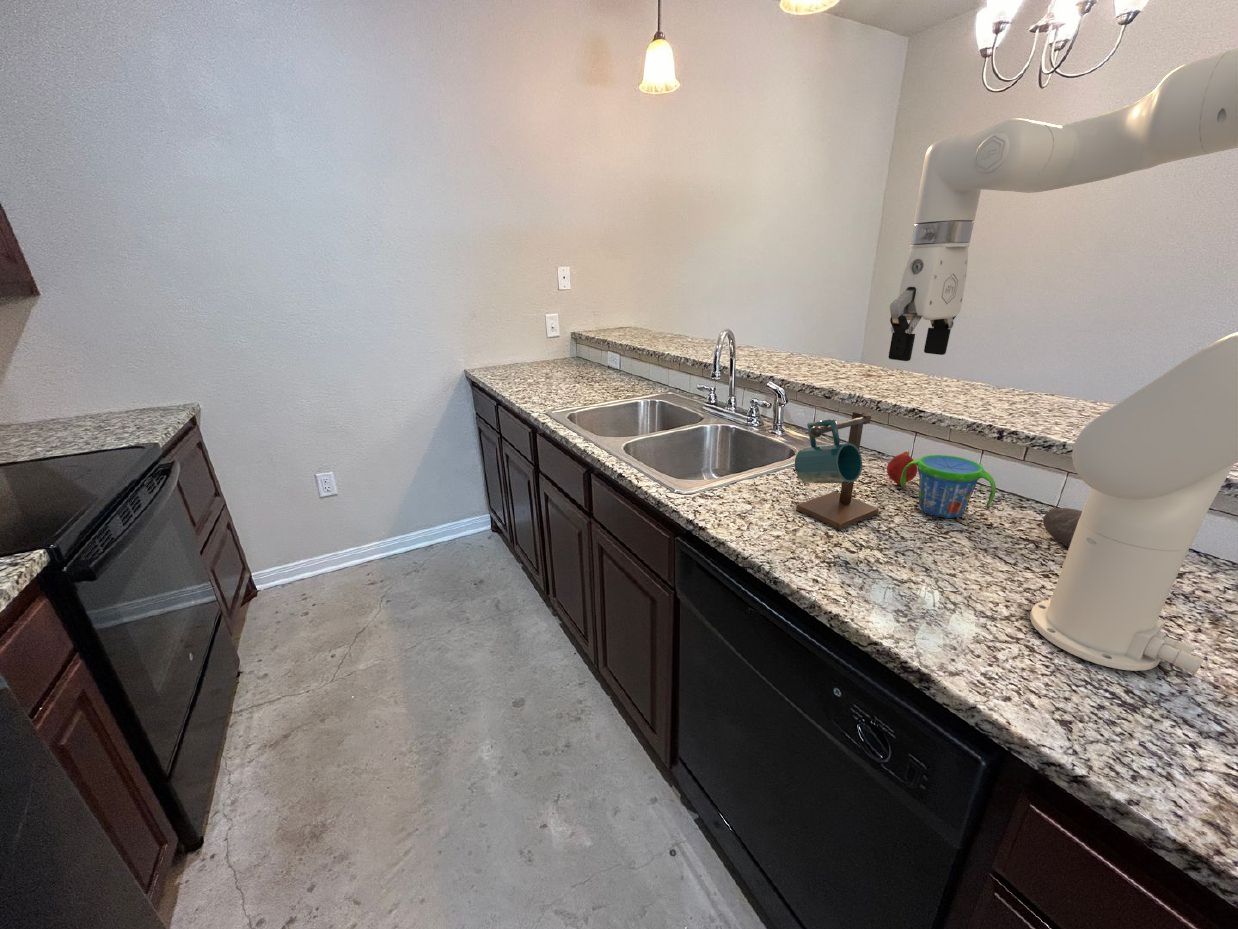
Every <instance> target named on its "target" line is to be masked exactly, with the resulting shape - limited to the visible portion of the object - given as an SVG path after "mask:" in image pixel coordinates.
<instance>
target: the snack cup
mask: <svg viewBox="0 0 1238 929" xmlns="http://www.w3.org/2000/svg"><path fill="white" fill-rule="evenodd" d="M913 460H914V461H912V462H910V463H909V464H908V465H907V466H906V467H905V468H904V470H903V472H902V475H901V480H900V483H901V485H900V486H901V487H902V488H903V487H905V486H906V484H907V482H906V470H907V469H908V468H909V467H910V466H911V465H913V464H916V465H917V472H918V477H919V478H918V479H919V481H918V505H919V508H920V509H921V510H922V511H923V512H924V513H926V514H929V515H930V516H935V517H939V518H945V519H952V518H954V519H955V518H958V517H962V516H963V514H964V513H965V512H966V509H967V506H968V504H969V502H970V500H971V497H972V495H973V493H974V491H975V488H976V486H977V482H978V481H979V480H980V479H984V480H985V481H987V482H989V485H990V492H989V496H988V501H987V502H986V504H985V507H986V508H988V507H989V506H990V505H991V504H992V503H993V500H994V498H995V496H996V490H997V486H996V481H995V480H994V478H993V476H992V475H991V474H990V473H988V472H987V471H985V469H984V467H983V466H982V465H981V464H980V463H978V462H976V461H974V460H971V459H968V458H965V457H961V456H954V455H949V454H948V455H947V454H946V455H945V454H930V455H925V456H922V457H920V458H917V459H913Z"/></svg>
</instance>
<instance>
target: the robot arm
mask: <svg viewBox="0 0 1238 929" xmlns="http://www.w3.org/2000/svg"><path fill="white" fill-rule="evenodd" d="M1233 149H1238V47H1237V48H1234V49H1231V50H1228V51H1224V52H1221V53H1218V54H1214V55H1212V56H1208V57H1204V58H1201V59H1198V60H1195V61H1191V62H1189V63H1186V64H1183V65H1181V66H1179V67H1177V68H1175V69H1174V70H1172V71H1170V72H1169V73H1168V74H1167V75H1166V76H1165V77H1164V78H1163V79H1162V80H1161V81H1160V83H1159V84H1158V85H1157V86H1156V88H1155V89H1154V90H1153V91H1151V92H1150V93H1149V94H1147V95H1146V96H1144V97H1142V98H1141V99H1139V100H1137V101H1135V102H1133V103H1130V104H1128V105H1125V106H1123V107H1120V108H1118V109H1115V110H1112V111H1108V112H1106V113H1102V114H1098V115H1094V116H1092V117H1088V118H1085V119H1080V120H1077V121H1073V122H1069V123H1065V124H1060V125H1056V124H1054V123H1047V122H1043V121H1036V120H1030V119H1026V118H1010V119H1006V120H1002V121H999V122H996V123H993V124H991V125H989V126H986V127H984V128H982V129H979V130H976V131H974V132H971V133H969V134H962V135H961V134H959V135H955V136H950V137H945V138H942V139H939V140H937V141H935V142H933V143H932V144H931V145H930V146H929V147H928V149H927V150H926V152H925V155H924V160H923V166H922V170H921V177H920V183H919V188H918V194H917V200H916V206H915V211H914V218H913V223H912V229H911V235H910V239H909V240H910V241H909V246H908V250H909V252H908V255H907V257H906V258H907V259H906V262H905V265H904V269H903V273H902V276H901V281H900V284H899V289H898V294H897V297H896V298H895V299H894V300H892V302H890V305H889V312H890V318H889V321H890V325H891V327H890V332H891V339H890V345H889V352H888V356H887V358H888V359H889V360H893V361H901V362H910V361H911V359H912V354H913V349H914V343H915V339H916V333H914V330H915V329H916V327H917V326H918V324H919V322H920V321H921V320H922V319H923V320H925V321H929V322H930V325H931V327H928V328H927V333H926V338H925V341H924V342H925V343H924V348H923V352H924V353H925V354H929V355H938V356H944V355H946V354H947V349H948V344H949V340H950V336H951V330H952V329H953V328H954V322H955V321H954V320H955V319H956V317H957V316H958V315H959V314H960V312H961V308H962V304H963V299H964V293H965V286H966V280H967V274H968V264H969V262H968V261H969V247H970V245H971V244H970V243H971V239H972V234H973V230H974V226H975V220H976V216H977V211H978V207H979V202H980V197H981V194H982V193H981V192H982V191H983V190H988V191H998V192H999V191H1000V192H1014V193H1025V194H1035V193H1042V192H1049V191H1053V190H1059V189H1064V188H1069V187H1074V186H1080V185H1084V184H1085V185H1086V184H1090V183H1094V182H1099V181H1104V180H1109V179H1113V178H1116V177H1120V176H1125V175H1128V174H1131V173H1134V172H1135V173H1136V172H1138V171H1144V170H1148V169H1151V168H1155V167H1157V166H1160V165H1163V164H1167V163H1172V162H1176V161H1180V160H1186V159H1190V158H1195V157H1200V156H1205V155H1210V154H1214V153H1219V152H1225V151H1229V150H1233ZM1071 458H1072V464H1073V468H1074V469H1075V472H1076V474H1077V475H1078V477H1079V478H1080V479H1081V480H1082V481H1083V483H1085V484H1086V485H1087V486H1088V487H1090V491H1089V493H1088V495H1087V498H1086V500H1085V502H1084V505H1083V509H1082V510H1081V511H1082V514H1081V516H1080V518H1079V521H1078V524H1077V527H1076V530H1075V532H1074V535H1073V538H1072V541H1071V544H1070V547H1068V549H1067V552H1066V555H1065V558H1064V561H1063V564H1062V566H1061V569H1060V572H1059V576H1058V578H1057V582H1056V584H1055V587H1054V590H1053V592H1052V595H1051V599H1047V600H1042V601H1038V602H1037V603H1035V604H1034V605H1033V606H1032V608H1031V611H1030V613H1029V620H1030V622H1031V624H1032V626H1033V628H1034V629H1035V630H1036V631H1037V632H1038V633H1039V634H1040V635H1041V636H1042V637H1043V638H1045V639H1046V640H1047V641H1048V642H1050V643H1051V644H1053V645H1055V646H1056V647H1058V648H1059V649H1062V650H1063V651H1065V652H1067V653H1069V654H1071V655H1072V656H1075V657H1077V658H1079V659H1082V660H1085V661H1086V662H1087V661H1088V662H1090V663H1093V664H1096V665H1099V666H1102V667H1107V668H1111V669H1117V670H1121V671H1131V672H1137V671H1138V672H1140V671H1148V670H1152V669H1154V668H1156V667H1158V665H1159V664H1160V662H1161V661H1165V662H1167V663H1170V664H1173V666H1175V667H1177V668H1180V669H1182V670H1184V671H1187V672H1189V673H1191V674H1194V675H1196V674H1197V673H1198V671H1199V670H1200V668H1201V665H1202V664H1203V662H1204V659H1203V658H1201V657H1199V656H1197V655H1193V653H1192V652H1193V650H1194V648H1195V646H1192V645H1190V644H1187V643H1185V642H1182V641H1181V640H1176V639H1173V638H1171V637H1169V636H1167V633H1165V632H1163V631H1161V630H1162V628H1163V626H1164V624H1165V621H1164V620H1163V619H1159V617H1160V615H1161V612H1162V610H1163V608H1164V605H1165V604H1166V601H1167V600H1168V597H1169V595H1170V592H1171V590H1172V589H1173V585H1174V584H1175V581H1176V579H1177V577H1178V574H1179V573H1180V570H1181V568H1182V566H1183V564H1184V562H1185V560H1186V557H1187V555H1188V552H1189V549H1190V548H1191V547H1192V545H1193V543H1194V541H1195V539H1196V536H1197V535H1198V532H1199V530H1200V529H1201V525H1202V523H1203V521H1204V519H1205V518H1206V516H1207V514H1208V512H1209V509H1210V507H1211V506H1212V504H1213V502H1214V500H1215V498H1216V496H1217V495H1218V493H1219V491H1220V490H1221V488H1222V487H1223V485H1224V483H1225V481H1226V480H1227V478H1228V477H1229V474H1230V473H1231V471H1232V469H1233V467H1234V466H1235V464H1237V463H1238V331H1236V332H1233V333H1231V334H1229V335H1226V336H1224V337H1222V338H1220V339H1218V340H1216V341H1214V342H1212V343H1210V344H1209V345H1207V346H1205V347H1203V348H1201V349H1200V350H1199V351H1197V352H1195V353H1193V354H1192V355H1190V356H1188V357H1187V358H1185V359H1184V360H1183V361H1181V362H1179V363H1178V364H1176V365H1175V366H1173V367H1172V368H1170V369H1168V370H1167V371H1166V372H1164V373H1163V374H1161V375H1159V376H1158V377H1157V378H1155V379H1153V380H1152V381H1150V382H1149V383H1147V384H1146V385H1144V386H1143V387H1141V388H1139V389H1138V390H1136V391H1135V392H1133V393H1132V394H1130V395H1129V396H1127V397H1126V398H1124V399H1123V400H1121V401H1120V402H1118V403H1116V404H1115V405H1113V406H1112V407H1111V408H1109V409H1108V410H1106V411H1104V412H1102V414H1100V415H1098V416H1097V417H1095V418H1094V419H1093V420H1091V421H1090V422H1089V423H1088V424H1087V425H1085V426H1084V427H1083V429H1082V430H1081V431H1080V432H1079V434H1078V436H1077V437H1076V439H1075V441H1074V443H1073V447H1072V452H1071Z"/></svg>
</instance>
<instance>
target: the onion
mask: <svg viewBox="0 0 1238 929" xmlns="http://www.w3.org/2000/svg"><path fill="white" fill-rule="evenodd" d="M914 460H915V459H914V458H912V457H911V456H910V451H908V450H905V451H903V452H902V453H900V454H897V455H895V456H894V457H892V459H890V461H889V462H888V464H887V465H886V473H887V475H888V477H889V478H890V480H892V481H893V482H894V483H895V484H896V485H898V486H901V483H900V480H901V475H902V472H903V470H904V468H905V467H906V466H907V465H908V464H909V463H910V462H912V461H914ZM917 473H918V466H917V465H916V464H913V465H911V466H910V467H909V468H908V469H907V470H906V483H908V482H911V481H912V480H914V479H915V477H916V476H917Z"/></svg>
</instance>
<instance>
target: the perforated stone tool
mask: <svg viewBox="0 0 1238 929" xmlns="http://www.w3.org/2000/svg"><path fill="white" fill-rule="evenodd" d="M1082 511H1083V510H1080V509H1075V508H1068V507H1058V508H1057V507H1055V508H1050V510H1049V511H1047V513H1045V514H1044V516H1043V518H1042V523H1043V527H1044V528H1045V530H1046V532H1047V533H1048V534H1049V535H1050V536H1051V537H1052V538H1053V539H1054V540H1056V541H1058V542H1060V543H1063V544H1065V545H1066V547H1067V548H1069V547H1070V544H1071V541H1072V538H1073V535H1074V532H1075V530H1076V527H1077V524H1078V521H1079V518H1080V516H1081V514H1082Z"/></svg>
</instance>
